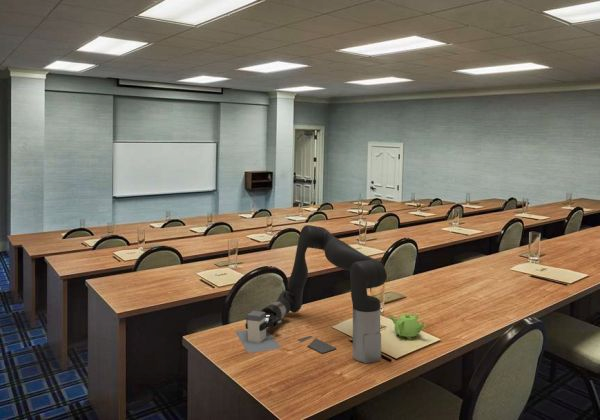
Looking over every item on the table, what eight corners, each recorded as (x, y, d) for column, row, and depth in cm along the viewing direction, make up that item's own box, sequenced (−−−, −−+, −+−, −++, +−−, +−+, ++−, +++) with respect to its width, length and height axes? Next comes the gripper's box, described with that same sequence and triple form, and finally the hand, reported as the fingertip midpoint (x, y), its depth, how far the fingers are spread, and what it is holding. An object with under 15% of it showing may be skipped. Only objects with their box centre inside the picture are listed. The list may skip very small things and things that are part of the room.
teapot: (395, 341, 174) (395, 319, 173) (389, 330, 185) (389, 309, 185) (426, 341, 174) (426, 318, 173) (417, 329, 186) (417, 308, 185)
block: (266, 337, 178) (265, 312, 177) (260, 342, 174) (259, 316, 173) (254, 336, 180) (253, 310, 179) (248, 340, 176) (247, 314, 175)
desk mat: (281, 349, 169) (281, 347, 169) (248, 354, 165) (248, 353, 165) (264, 328, 189) (264, 327, 189) (235, 333, 185) (235, 331, 185)
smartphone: (322, 353, 164) (296, 339, 176) (322, 355, 164) (296, 342, 176) (337, 348, 168) (310, 335, 180) (337, 350, 168) (310, 337, 180)
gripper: (257, 302, 192) (236, 315, 176) (289, 305, 186) (270, 319, 171) (257, 320, 193) (236, 334, 177) (290, 324, 187) (271, 339, 172)
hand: (253, 327), depth 174 cm, fingers closed on block, 5 cm apart
